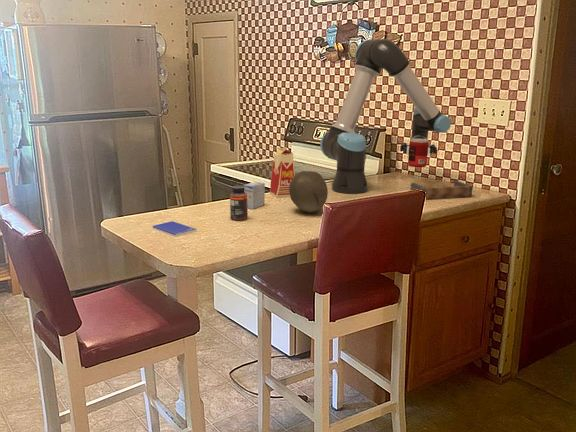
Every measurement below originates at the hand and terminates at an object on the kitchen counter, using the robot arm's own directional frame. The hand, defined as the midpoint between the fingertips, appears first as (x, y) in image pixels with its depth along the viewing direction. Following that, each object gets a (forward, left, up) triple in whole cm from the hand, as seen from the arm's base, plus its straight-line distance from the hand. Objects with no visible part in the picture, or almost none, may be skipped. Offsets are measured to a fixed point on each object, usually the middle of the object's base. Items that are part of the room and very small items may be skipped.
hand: (418, 152), depth 235 cm
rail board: (+8, -6, -17) cm, 20 cm away
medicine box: (-71, -6, -18) cm, 73 cm away
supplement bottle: (-80, -21, -18) cm, 84 cm away
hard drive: (-102, -29, -18) cm, 108 cm away
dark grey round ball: (-54, -18, -18) cm, 59 cm away
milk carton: (-55, +10, -18) cm, 58 cm away
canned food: (+2, +4, -7) cm, 8 cm away
